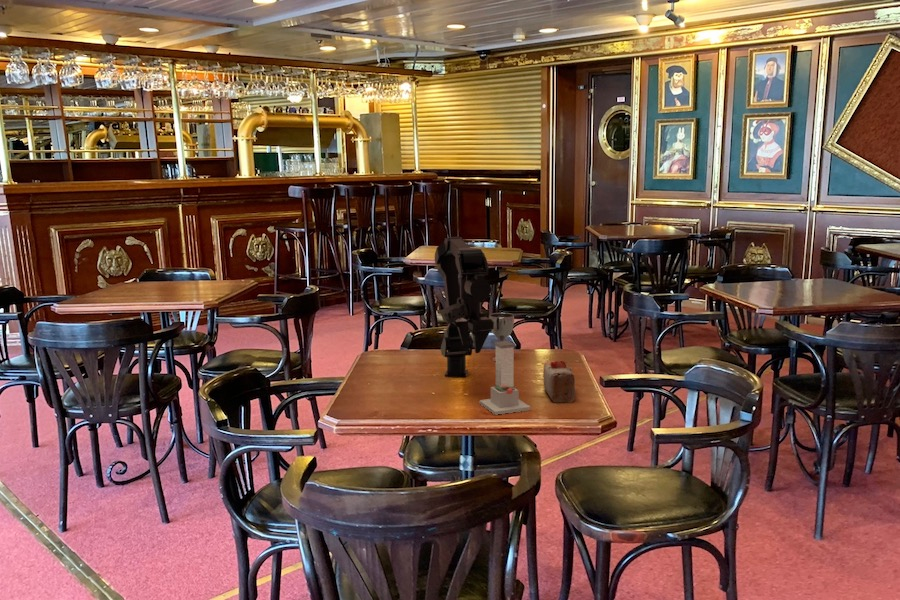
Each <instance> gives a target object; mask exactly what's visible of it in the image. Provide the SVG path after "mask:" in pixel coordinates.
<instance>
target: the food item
mask: <svg viewBox="0 0 900 600" xmlns="http://www.w3.org/2000/svg"><path fill="white" fill-rule="evenodd" d="M568 363H569V361H566V362H565V361H564V360H559V361H558V360H557V361H556V360H555V361H554V360H553V361H547V362H545V363H543V364H544V365H543V370H542V371H543V372H542V377H543V389H544V391H545V392H546V393H547V395H548V396H549V398H550V399H551V400H552V403H556V404H558V403H559V404H560V403H562V404H563V403H569V404H570V403H573V402H574V400H575V397H576V396H575V393H576V391H575V383H576V382H575V381H576V380H575V374H574V373H573V372H572V370H573V368H572V367H571V366H567V364H568Z"/></svg>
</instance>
